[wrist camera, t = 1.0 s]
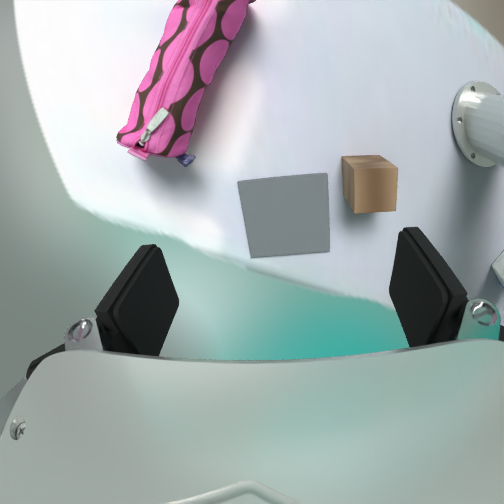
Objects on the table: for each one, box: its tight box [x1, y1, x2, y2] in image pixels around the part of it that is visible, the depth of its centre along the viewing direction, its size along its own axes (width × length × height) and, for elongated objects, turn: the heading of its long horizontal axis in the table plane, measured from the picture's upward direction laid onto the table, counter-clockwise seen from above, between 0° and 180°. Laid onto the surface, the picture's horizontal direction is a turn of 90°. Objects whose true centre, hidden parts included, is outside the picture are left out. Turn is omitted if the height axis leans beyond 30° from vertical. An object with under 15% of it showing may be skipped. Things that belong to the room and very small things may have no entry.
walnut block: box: [342, 155, 398, 214], centre depth 29 cm, size 5×5×6 cm
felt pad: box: [238, 173, 330, 258], centre depth 35 cm, size 11×11×1 cm
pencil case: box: [117, 0, 256, 167], centre depth 22 cm, size 21×10×10 cm, turn 158°
